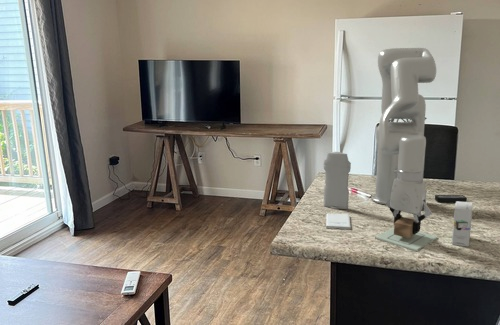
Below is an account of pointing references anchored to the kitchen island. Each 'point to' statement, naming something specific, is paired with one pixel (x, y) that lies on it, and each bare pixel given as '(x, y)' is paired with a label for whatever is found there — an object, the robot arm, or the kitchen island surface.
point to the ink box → (462, 223)
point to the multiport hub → (450, 198)
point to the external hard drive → (337, 221)
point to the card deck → (404, 226)
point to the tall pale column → (336, 180)
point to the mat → (407, 239)
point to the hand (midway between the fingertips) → (406, 229)
